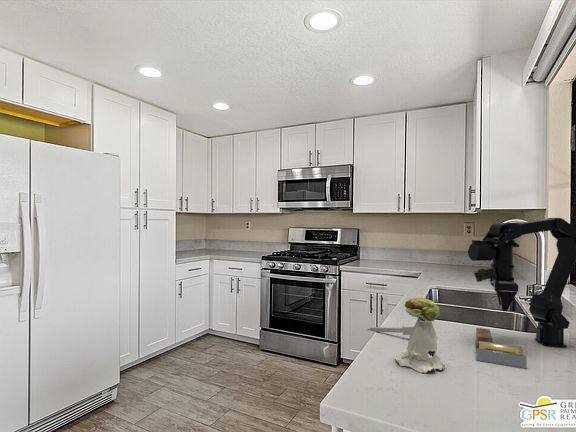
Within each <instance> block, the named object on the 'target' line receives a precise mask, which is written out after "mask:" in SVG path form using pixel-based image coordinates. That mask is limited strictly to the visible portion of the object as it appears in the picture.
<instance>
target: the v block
mask: <svg viewBox="0 0 576 432" xmlns="http://www.w3.org/2000/svg"><path fill="white" fill-rule="evenodd" d="M475 358H476V362H477V361H478V362H484V363H490V364H496V365H501V366H508V367H513V368H519V369H520V368H521V369H527V365H528V364H527V358H528V357H527V355H525V354H524V349H523V348H522V355H519V354H513V353H506V352H499V351H493V350H486V349H480V348H479V342H477V341H475Z"/></svg>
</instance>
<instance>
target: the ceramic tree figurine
mask: <svg viewBox="0 0 576 432" xmlns="http://www.w3.org/2000/svg"><path fill="white" fill-rule="evenodd" d="M404 307H405V308H406V309H404V310H405V312H406V313H408V315H409V316H411V317H414V318H417V320H416V322H415V324H414V326H412V327H413V329H412V331H411V334H410V335H409V337H408V344H407V348H406V349H405V350H401V351H400V352H399V353H400V354H396V355H395V361H396V362H397V363H398V365H399V367H403V366H404V367H405V366H406V367H409V368H411V369H413V370H415V371H416V372H419V373H420V374H421V373H428V371H429V372H431V371H432V370H434V371H436V370H440V371H442V370H444V369H445V367H446V366H445V365H446V364H445V363H444V362H443V361H442V360H441V357H440V355H439V354H437V350H438V338H439V337H438V336H437V331H436V330H435V328H434V324H433V322H435V321H436V319H437V318H438V317H439V316H440V315H441V311H440V307H439V306H438V305H437V304H436V303H435V302H434V301H433V300H430V299H428V298H425V297H413V298H412V297H411V298H408V299H407V301H405V302H404Z"/></svg>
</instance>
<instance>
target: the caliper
mask: <svg viewBox="0 0 576 432" xmlns="http://www.w3.org/2000/svg"><path fill="white" fill-rule="evenodd" d="M413 327H414V326H402V327H390V326H389V327H387V326H386V327H383V326H382V327H381V326H379V327H377V326H375V327H374V326H370V327H369V328H367V329H366V331H370V332H373V333H374V332H375V333H402V335H403V336H410V334H411V331H412V329H413Z"/></svg>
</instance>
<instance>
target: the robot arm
mask: <svg viewBox="0 0 576 432" xmlns="http://www.w3.org/2000/svg"><path fill="white" fill-rule="evenodd" d="M541 232H550V234H551V236H552V237H553V238H555V240H556V245H555V246H556V249H557V255H556V258H555V261H554V263H553V266H552V268H551V269H550V273H549V275H548V279H547V281H546V282H545V286H544V288H543V290H542V291H541V293H539V294H535V293H534V294H532V297H531V300H530V302H529V303H528V306H529V309H528V310H529V313H530V314H531V316H532V319H533V321H534V322H536V323H537V327H536V328H535V338H534V340H536V341H537V342H538V343H540V344H542V345H543V346H547V347H559V348H560V347H561V348H567V347H568V346H567V344H565V340H564V339H565V338H564V337H565V333H564V331H565V329H569V327H570V326H569V325H570V321H569V320H568V319H567V318H566V317H565V316H564V315H563V313H562V312H563V310H564V307H563V303H562V295H563V293H564V292H565V288H566V286H567V283H568V281H569V278H570V276H571V273H572V271H573V268H574V265H575V263H576V225H574V224H571V223H570V222H568V221H566V220H565V219H564V218H562V217H548V218H544V219H537V220H532V221H531V220H530V221H525V222H494V223H492V224H491V225H490V227H489V230H488V231H487V233H486V234H485V235H484V237H483V238H482V239H481V240H479V239H472V240H471V244H470V245H469V247H468V249H467V254H468V257H469V260H471V261H474V262H475V261H476V262H477V261H478V262H481V261H483V262H485V261H486V262H487V261H488V262H491V261H492V262H491V263H490V266H489V267H485V268H482V267H481V268H480V269H479V268H478V269H477V270H474V271H473V272H472V273H473V275H474V277H475V280H476V282H477V283H479V282H480V283H481V282H483V281H485V280H489V284H490V285H491V286H492V287H493V290H494V291H495V293H496V297H497V300H498V304H499V305H500V306H501V309H502V312H508V310H509V309H510V306H511V304H512V303H513V300H514V299H515V297H516V295H517V294H518V293H519V284H518V283H517V282H516V281H515V277H514V269H515V265H514V255H513V254H514V248H520V244H518V243H517V242H516V241H515V239H519V238H521V237H522V236H524V235H529V234H535V233H541Z"/></svg>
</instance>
